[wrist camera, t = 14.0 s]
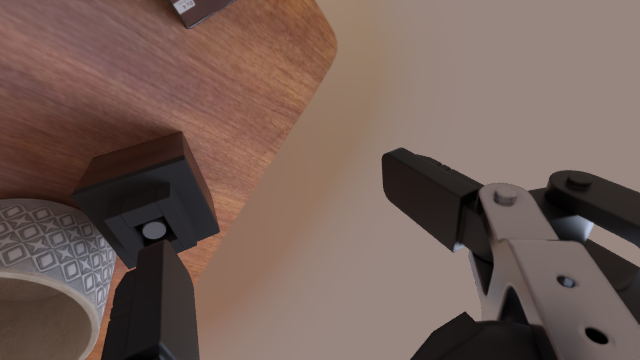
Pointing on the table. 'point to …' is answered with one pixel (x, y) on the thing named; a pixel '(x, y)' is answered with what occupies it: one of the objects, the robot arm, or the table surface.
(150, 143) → the stand
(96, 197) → the base pad
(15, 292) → the planter
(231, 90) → the table surface
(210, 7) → the box
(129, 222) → the top pad
